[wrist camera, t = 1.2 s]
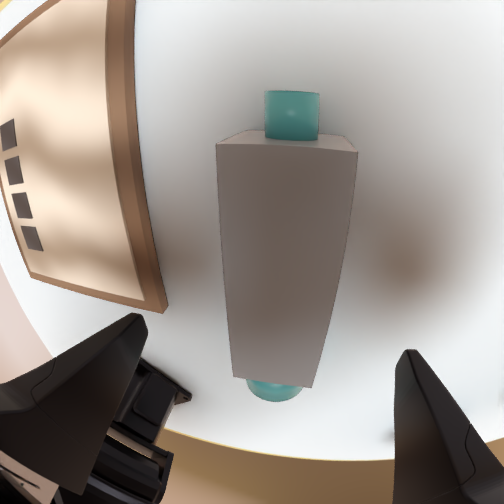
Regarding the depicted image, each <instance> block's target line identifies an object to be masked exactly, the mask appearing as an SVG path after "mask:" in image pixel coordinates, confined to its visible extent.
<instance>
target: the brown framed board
mask: <svg viewBox="0 0 504 504" xmlns="http://www.w3.org/2000/svg"><path fill="white" fill-rule="evenodd" d="M134 16H135V0H48V1H46V2H45V3H43V4H42V5H41V6H39V7H38V8H37V9H36V10H34V11H33V12H32V13H30V14H29V15H28V16H27V17H26V18H24V19H23V20H22V21H21V22H20V23H18V24H17V25H16V26H15V27H14V28H13V29H12V30H11V31H10V32H8V33H7V34H6V35H5V36H4V37H3V38H2V39H1V40H0V187H1V191H2V195H3V199H4V203H5V207H6V210H7V214H8V217H9V220H10V224H11V227H12V230H13V233H14V236H15V239H16V242H17V244H18V247H19V250H20V252H21V255H22V258H23V260H24V263H25V265H26V268H27V270H28V272H29V275H30V277H31V278H33V279H36V280H39V281H42V282H45V283H48V284H52V285H55V286H58V287H61V288H64V289H68V290H71V291H75V292H78V293H81V294H85V295H88V296H92V297H96V298H99V299H103V300H107V301H111V302H115V303H119V304H123V305H127V306H131V307H135V308H139V309H143V310H148V311H152V312H157V313H161V314H163V313H164V311H165V310H166V308H167V307H168V303H167V299H166V295H165V291H164V287H163V282H162V278H161V274H160V269H159V265H158V260H157V256H156V251H155V246H154V241H153V236H152V230H151V225H150V219H149V214H148V208H147V202H146V195H145V189H144V182H143V174H142V167H141V159H140V150H139V140H138V130H137V118H136V104H135V85H134Z"/></svg>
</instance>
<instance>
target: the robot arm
mask: <svg viewBox="0 0 504 504" xmlns="http://www.w3.org/2000/svg"><path fill="white" fill-rule="evenodd" d="M147 336H148V329H147V326H146V323H145V320H144V318H143V316H142V315H141V314H137V313H130V314H128V315H126V316H125V317H123V318H121V319H119V320H118V321H116V322H114V323H113V324H111V325H109V326H107V327H106V328H104V329H102V330H101V331H99V332H97V333H96V334H94V335H92V336H90V337H89V338H87V339H85V340H84V341H82V342H80V343H79V344H77V345H75V346H74V347H72V348H70V349H68V350H67V351H65V352H63V353H62V354H60V355H58V356H57V358H56V357H55V358H53V359H52V360H50V361H48V362H46V363H45V364H43V365H41V366H39V367H37V368H36V369H33V370H31V371H29V372H28V373H25V374H23V375H21V376H19V377H17V378H15V379H13V380H11V381H8V382H6V383H2V384H0V504H159V503H160V502H161V500H162V498H163V496H164V493H165V490H166V485H167V481H168V477H169V472H170V469H171V465H172V461H173V456H174V454H173V453H171V452H169V451H165V450H163V449H161V448H159V447H157V446H156V443H157V441H158V439H159V437H160V434H161V432H162V430H163V428H164V425H165V423H166V421H167V419H168V417H169V414H170V412H171V410H172V408H173V405H177V404H181V403H184V402H188V401H191V398H192V396H191V395H190V394H189V393H187V392H186V391H184V390H183V389H181V388H180V387H178V386H177V385H175V384H174V383H173V382H171V381H170V380H168V379H167V378H165V377H164V376H163V375H161V374H160V373H159V372H157V371H156V370H154V369H153V368H152V367H150V366H149V365H148V364H147V363H145V362H144V361H143V360H141V359H140V356H141V353H142V350H143V347H144V345H145V342H146V339H147ZM394 429H395V470H394V490H393V503H392V504H504V467H503V466H502V464H501V463H500V462H499V461H498V459H497V458H496V457H495V456H494V454H493V453H492V452H491V451H490V449H489V448H488V447H487V445H486V444H485V443H484V441H483V440H482V439H481V437H480V436H479V434H478V433H477V431H476V430H475V428H474V427H473V425H472V424H471V423H470V421H469V420H468V418H467V417H466V415H465V414H464V412H463V411H462V409H461V408H460V407H459V405H458V404H457V402H456V401H455V400H454V398H453V397H452V395H451V394H450V393H449V391H448V390H447V389H446V387H445V386H444V385H443V383H442V382H441V380H440V379H439V378H438V376H437V375H436V374H435V373H434V371H433V370H432V369H431V367H430V366H429V365H428V363H427V362H426V361H425V360H424V358H423V357H422V356H421V354H420V353H419V352H418V351H417V350H415V349H406V350H405V351H404V352H403V354H402V355H401V357H400V359H399V361H398V363H397V365H396V368H395V395H394ZM107 434H109V435H111V436H112V437H114V438H115V439H117V440H119V441H121V442H122V443H124V444H126V445H128V446H129V447H131V448H133V449H135V450H137V451H138V452H141V453H142V454H144V455H146V456H148V457H150V458H151V459H150V458H148V457H146V456H144V455H142V454H140V453H138V452H137V451H134V450H133V449H131V448H129V447H127V446H126V445H124V444H122V443H120V442H119V441H117V440H115V439H113V438H112V437H110V436H109V435H107Z"/></svg>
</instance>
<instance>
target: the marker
mask: <svg viewBox="0 0 504 504" xmlns="http://www.w3.org/2000/svg"><path fill="white" fill-rule="evenodd" d="M318 121H319V94H318V93H311V92H300V91H265V130H245V131H243V132H241V133H239V134H236V135H234V136H232V137H230V138H227V139H225V140H223V141H221V142H219V143H216V161H217V181H218V199H219V216H220V232H221V246H222V260H223V273H224V285H225V297H226V309H227V320H228V330H229V341H230V351H231V360H232V370H233V377H238V378H244V379H246V381H247V385H248V387H249V389H250V390H251V391H252V392H253V393H254V394H255V395H256V396H257V397H259V398H261V399H263V400H266V401H272V402H280V401H285V400H288V399H291V398H293V397H294V396H296V395H297V394H298V393H299V392H300V391H301V390H302V388H303V387H308V388H312V385H313V381H314V378H315V375H316V371H317V368H318V364H319V361H320V357H321V354H322V350H323V346H324V343H325V339H326V335H327V331H328V327H329V323H330V319H331V314H332V310H333V306H334V301H335V297H336V292H337V288H338V283H339V278H340V273H341V268H342V263H343V258H344V252H345V246H346V241H347V235H348V228H349V222H350V215H351V209H352V201H353V194H354V186H355V177H356V168H357V158H358V152H357V151H356V149H355V148H354V147H353V146H352V145H351V143H350V142H349V141H348V140H347V139H346V138H345V137H344V136H339V135H329V134H319V133H318Z"/></svg>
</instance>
